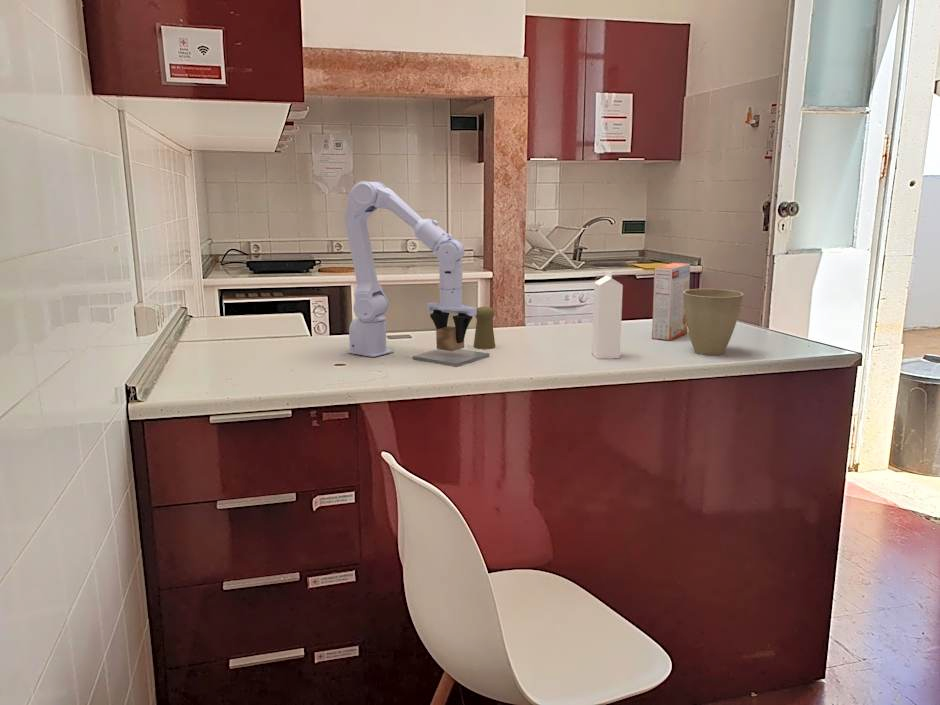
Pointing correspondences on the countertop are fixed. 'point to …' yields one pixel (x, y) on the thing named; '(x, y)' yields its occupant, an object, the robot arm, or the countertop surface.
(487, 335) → the cork
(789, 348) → the countertop surface
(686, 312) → the plant pot
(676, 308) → the cracker box
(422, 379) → the countertop surface
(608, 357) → the milk
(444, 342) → the walnut cube
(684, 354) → the countertop surface
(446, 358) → the slate board
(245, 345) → the countertop surface
